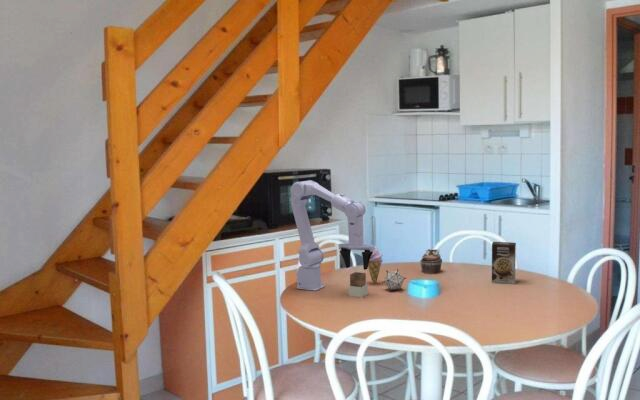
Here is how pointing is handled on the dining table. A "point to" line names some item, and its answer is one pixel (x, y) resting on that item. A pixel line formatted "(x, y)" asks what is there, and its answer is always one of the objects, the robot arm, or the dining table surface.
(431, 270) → the cupcake
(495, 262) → the coffee box
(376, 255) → the ice cream cone
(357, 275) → the walnut cube
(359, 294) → the base block
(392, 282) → the game die
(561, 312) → the dining table surface
